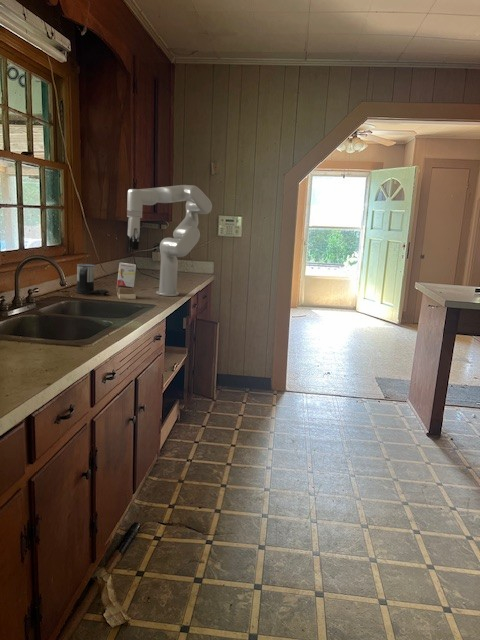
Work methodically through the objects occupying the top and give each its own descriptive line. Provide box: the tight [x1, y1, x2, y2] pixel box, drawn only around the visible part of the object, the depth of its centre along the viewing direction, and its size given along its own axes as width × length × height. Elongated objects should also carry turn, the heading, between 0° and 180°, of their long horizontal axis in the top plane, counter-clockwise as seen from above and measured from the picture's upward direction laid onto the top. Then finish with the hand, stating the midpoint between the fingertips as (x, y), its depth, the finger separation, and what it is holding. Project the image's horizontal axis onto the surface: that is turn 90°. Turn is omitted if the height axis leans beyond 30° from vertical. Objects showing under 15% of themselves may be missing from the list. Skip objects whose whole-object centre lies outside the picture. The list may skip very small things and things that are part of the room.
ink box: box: [116, 262, 137, 288], centre depth 251 cm, size 9×5×12 cm, turn 103°
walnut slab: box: [115, 285, 134, 294], centre depth 251 cm, size 7×7×3 cm
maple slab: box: [116, 291, 136, 300], centre depth 252 cm, size 8×8×3 cm
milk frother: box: [76, 263, 110, 295], centre depth 253 cm, size 14×16×15 cm
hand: (133, 248), depth 247 cm, fingers open, 9 cm apart
